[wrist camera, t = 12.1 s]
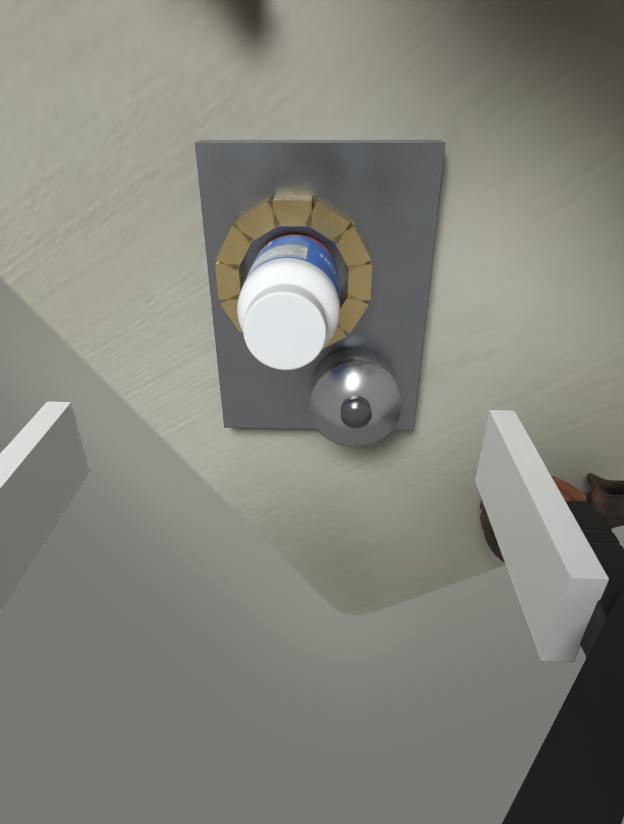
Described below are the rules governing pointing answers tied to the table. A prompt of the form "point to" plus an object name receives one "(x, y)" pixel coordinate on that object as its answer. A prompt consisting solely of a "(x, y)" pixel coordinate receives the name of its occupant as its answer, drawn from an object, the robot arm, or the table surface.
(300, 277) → the pill bottle
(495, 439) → the robot arm
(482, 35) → the table surface
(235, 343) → the carrier plate
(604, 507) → the pottery mug
